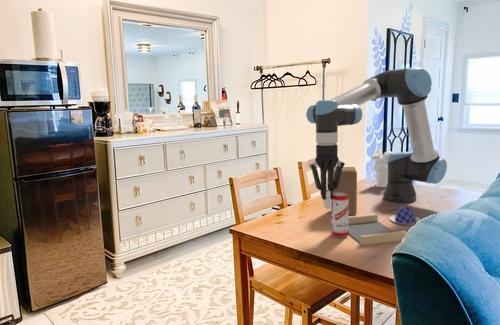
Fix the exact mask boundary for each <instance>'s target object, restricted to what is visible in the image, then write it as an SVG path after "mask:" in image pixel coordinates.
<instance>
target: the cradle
mask: <svg viewBox="0 0 500 325" xmlns="http://www.w3.org/2000/svg"><path fill="white" fill-rule="evenodd" d="M378 220H379V219H378V214H377V213H370V214H360V215H355V216H348V235H349V236H350V237H351V238H353V239H354V241H356V242H358V244H360V245H361V246H367V245H369V246H370V245H377V244H378V245H379V244H386V243H387V244H388V243H395V242H396V243H397V242H403V241H402V239H403V238H404V237H405V235H406V233H407V234H408V231H406V230H401V231H395V230H393V229H391V228H389V227H387V226H386V225H385V224H383V223H382V222H379V221H378Z"/></svg>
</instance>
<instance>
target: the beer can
mask: <svg viewBox="0 0 500 325" xmlns="http://www.w3.org/2000/svg"><path fill="white" fill-rule="evenodd" d="M330 213H331V214H330V223H331V224H330V233H331V235H333V237H335V238H338V239H340V238H341V239H342V238H346V237H347V236H348V235H349V234H348V217H349V216H348V214H349V199H348V197H347V193H344V192H335V193H333V198H332V199H330Z"/></svg>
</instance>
